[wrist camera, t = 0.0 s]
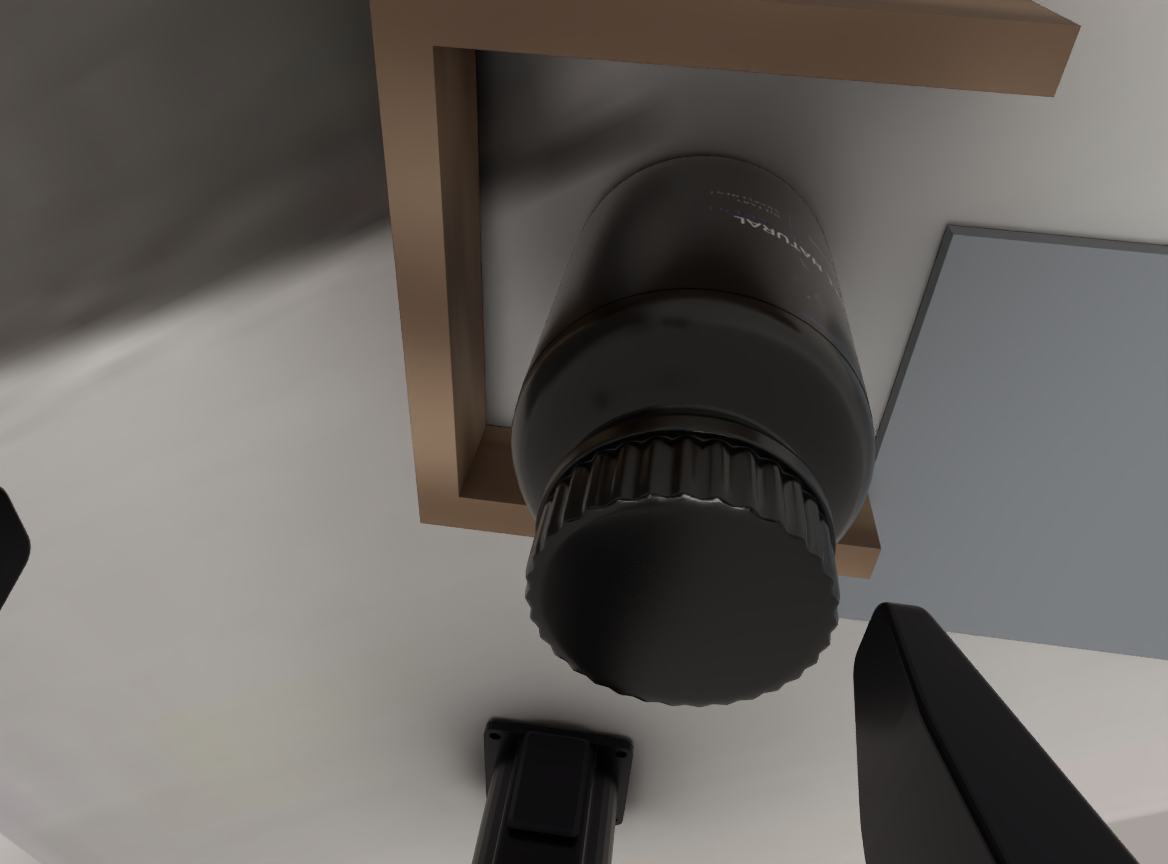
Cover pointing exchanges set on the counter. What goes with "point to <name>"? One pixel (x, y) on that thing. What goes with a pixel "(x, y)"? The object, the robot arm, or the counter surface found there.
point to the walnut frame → (630, 34)
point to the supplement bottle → (693, 439)
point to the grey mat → (1029, 447)
